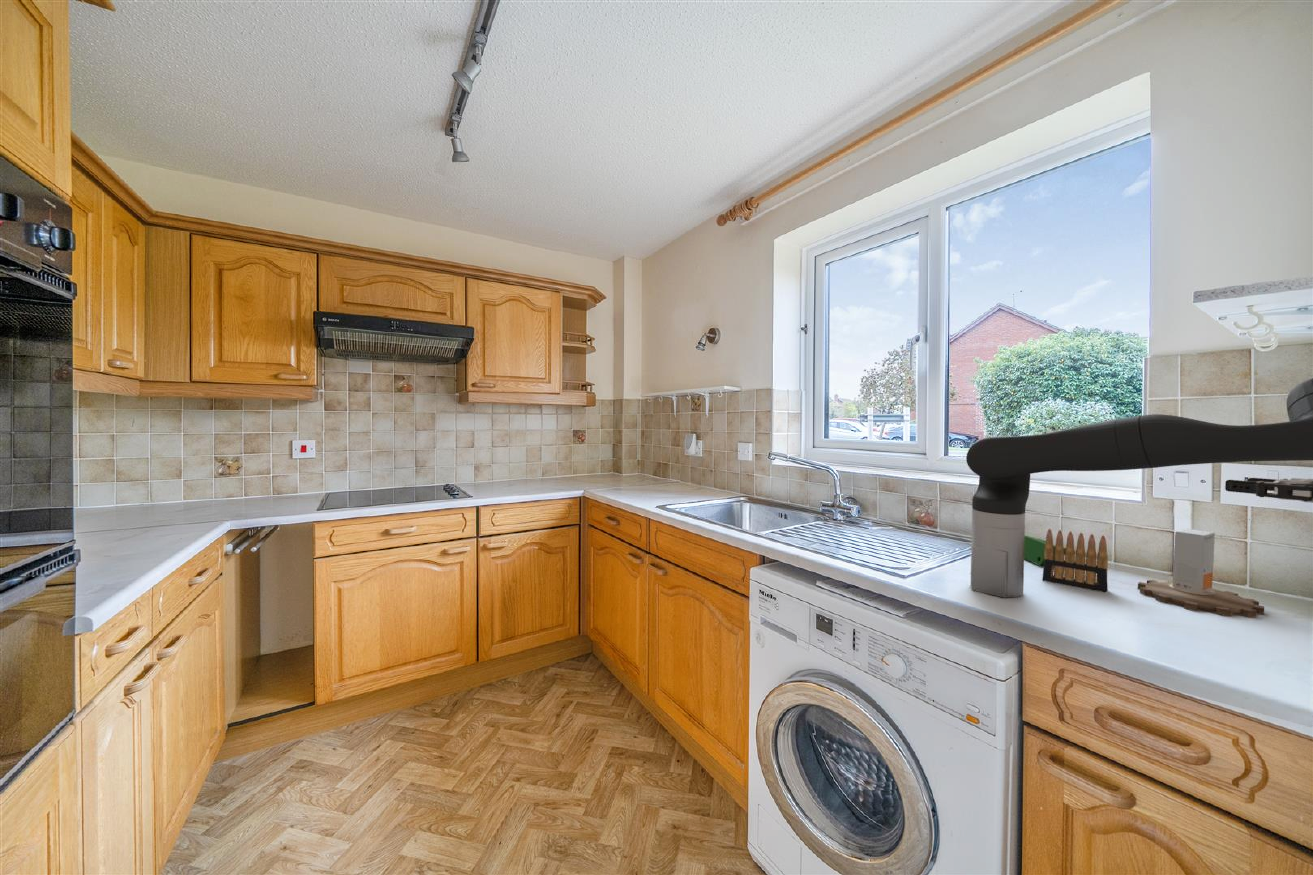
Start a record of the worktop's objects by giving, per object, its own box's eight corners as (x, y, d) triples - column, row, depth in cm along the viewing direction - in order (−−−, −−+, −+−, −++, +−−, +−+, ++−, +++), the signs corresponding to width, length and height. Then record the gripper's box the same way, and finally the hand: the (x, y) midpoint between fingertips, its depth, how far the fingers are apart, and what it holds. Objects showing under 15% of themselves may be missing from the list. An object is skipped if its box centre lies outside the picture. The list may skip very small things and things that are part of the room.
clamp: (1057, 583, 117) (1077, 556, 113) (1031, 576, 118) (1051, 549, 114) (1034, 553, 128) (1052, 527, 123) (1011, 547, 128) (1028, 521, 124)
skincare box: (1202, 594, 94) (1204, 535, 93) (1171, 587, 98) (1174, 531, 97) (1213, 589, 96) (1215, 532, 96) (1183, 583, 100) (1185, 528, 100)
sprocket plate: (1260, 624, 83) (1261, 617, 83) (1129, 596, 97) (1130, 589, 97) (1266, 603, 93) (1266, 596, 93) (1146, 580, 106) (1146, 574, 106)
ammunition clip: (1107, 590, 100) (1109, 535, 100) (1107, 592, 99) (1109, 536, 98) (1043, 578, 108) (1044, 527, 107) (1042, 580, 106) (1043, 528, 106)
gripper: (1406, 472, 78) (1255, 463, 93) (1372, 476, 73) (1219, 466, 88) (1403, 516, 78) (1253, 500, 94) (1369, 523, 73) (1217, 505, 89)
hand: (1237, 484), depth 91 cm, fingers open, 8 cm apart
